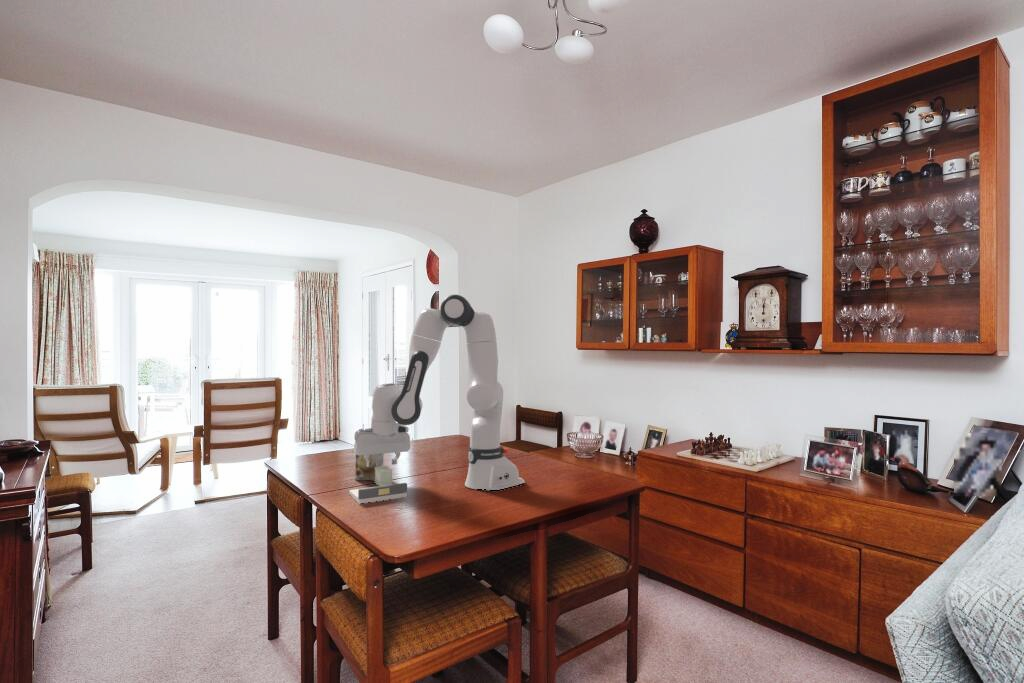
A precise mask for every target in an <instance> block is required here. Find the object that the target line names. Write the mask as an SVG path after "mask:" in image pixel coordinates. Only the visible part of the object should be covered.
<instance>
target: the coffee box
mask: <svg viewBox="0 0 1024 683" xmlns="http://www.w3.org/2000/svg"><path fill="white" fill-rule="evenodd" d="M384 454H385V453H384ZM384 454H371V455H369V458H368V460H369V461H371V462H372V464H371V465H372V467H367V466H366V463H367V462H366V460H365V458H364V455H359V456H358V455H356V454H355V469H354V470H355V473H354V480H355V481H366V480H373V481H372V482H375V467H380V466H384Z"/></svg>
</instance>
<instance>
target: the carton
mask: <svg viewBox="0 0 1024 683" xmlns="http://www.w3.org/2000/svg"><path fill="white" fill-rule="evenodd" d="M375 483H376V484H375ZM374 484H375V485H377V486H378V485H379V486H384V485H391V484H393V469H392V468H390V467H388V466H387V465H383V466H380V467H375V481H374Z"/></svg>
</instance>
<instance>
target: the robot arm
mask: <svg viewBox="0 0 1024 683" xmlns="http://www.w3.org/2000/svg"><path fill="white" fill-rule="evenodd" d="M473 308H474V307H472V306H471V304H470V301H468V299H466V298H465V297H464V296H462V295H460V294H450V295H448V296H446V297H445V298H444V299H443V300H442V301H441V303H440V307H439V308H438V309H435V308H425V309H423V310H422V311H420V313H419V315H418V317H417V319H416V322H415V324H414V327H413V330H412V333H411V338H410V343H409V351H408V353H409V354H408V355H409V356H408V367H407V372H406V375H405V379H404V383H403V387H402V388H401V387H399V386H398V385H397V384H395V383H384V384H379V385H377V386H376V387H375V388H374V391H373V394H372V401H371V409H372V416H371V423H370V426H371V427H369V428H359V429H358V430H357V431H355V433H354V446H353V453H354V454H355V456H356V455H358V456H359V455H364V458H365V460H366V462H367V463H366V466H367V467H372V465H371V464H372V462H371V461H369V460H368V458H369V455H371V454H395V456H394V458H391V465H397V464H398V459H399V458H400V457H401V453H406V452H409V451H410V449H411V437H410V434H409V433H408V432H409V429H410V428H409V427H408V426H410V425H413V424H414V423H416V422H417V421H418V420H419V419H420V416H421V413H422V409H423V401H422V399H421V397H420V396H421V392H422V387H423V384H424V380H425V377H426V374H427V371H428V370H429V367H430V366H431V365H432V363H433V362H434V361H435V359H436V357H437V356H438V353H439V350H440V347H441V344H442V340H443V336H444V333H445V330H447V328H456V327H457V328H461V327H462V328H463V329H464V331H465V336H466V337H465V338H466V349H467V362H468V363H467V364H468V369H467V371H468V372H467V391H466V392H467V393H466V400H467V403H468V406H470V407H471V409H473V410H472V415H471V416H472V417H471V421H470V425H469V426H470V429H469V431H470V432H469V433H470V435H469V446H468V469H467V470H468V471H467V476H466V479H465V483H464V486H465V487H467V488H468V489H472V490H477V489H482V490H481V491H490V490H500V489H504V488H508V487H511V486H515V485H519V484H522V483H525V484H526V482H525V479H523V478H522V477H520V475H519V469H518V467H517V465H516V464H514V463H513V462H512V461H511V460H510V459H508V458H507V456H505V455H504V454H509V453H510V449H509V448H508V447H502V446H501V424H502V423H501V421H502V413H503V405H504V404H503V401H504V388H503V386H502V384H501V383H500V382H499V381H498V371H499V370H498V366H499V365H498V364H499V358H498V357H499V356H498V344H497V343H498V342H497V333H496V329H495V324H494V321H493V317H492V316H491V315H490V314H489V313H486V312H478V311H475V310H474V309H473ZM484 489H486V490H484ZM508 489H509V488H508ZM504 490H505V489H504ZM500 491H501V490H500Z"/></svg>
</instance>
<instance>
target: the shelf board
mask: <svg viewBox="0 0 1024 683" xmlns="http://www.w3.org/2000/svg"><path fill="white" fill-rule="evenodd" d="M348 492H349V493H348V494H350V495H351V496H352V497H353V498H354V499H355V500H356V501H357V502H358V503H359V504H358V503H357V502H356V501H355V500H354V499H353V498H352V497H351V496H350V495H349V496H350V497H351V498H352V499H353V500H354V501H355V502H356V503H357V504H358V505H361V504H360V503H364V504H369V503H368V502H371V503H377V502H383V500H384V501H390V500H389V499H391V500H397V499H403V498H402V497H404V498H407V497H408V496H407V495H408V483H407V482H401V483H394V484H393V483H392V484H391V485H384V486H378V485H377V486H371V487H362V488H356V489H349V490H348ZM396 498H397V499H396ZM376 501H377V502H376Z"/></svg>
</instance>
